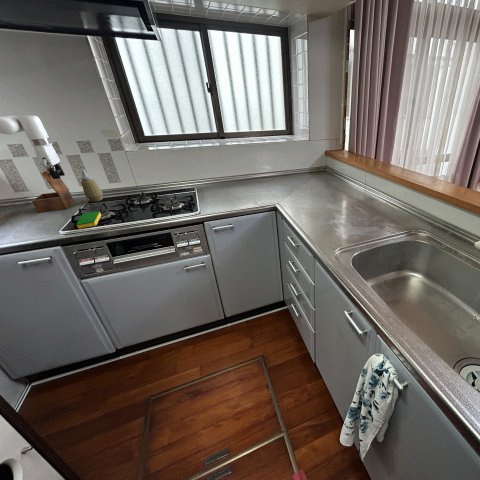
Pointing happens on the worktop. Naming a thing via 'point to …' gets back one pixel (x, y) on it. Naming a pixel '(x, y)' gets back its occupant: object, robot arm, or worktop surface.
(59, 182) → the box lid
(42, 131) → the robot arm
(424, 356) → the worktop surface
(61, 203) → the storage box
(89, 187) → the squeeze bottle
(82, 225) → the dish sponge
